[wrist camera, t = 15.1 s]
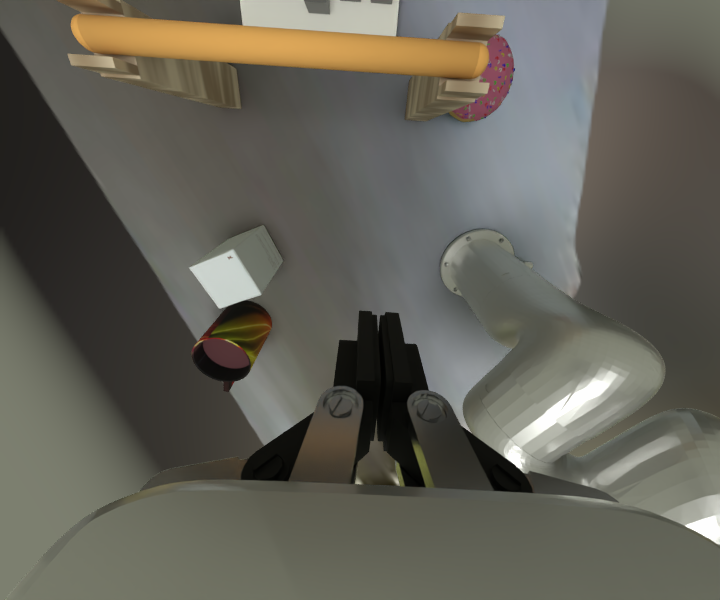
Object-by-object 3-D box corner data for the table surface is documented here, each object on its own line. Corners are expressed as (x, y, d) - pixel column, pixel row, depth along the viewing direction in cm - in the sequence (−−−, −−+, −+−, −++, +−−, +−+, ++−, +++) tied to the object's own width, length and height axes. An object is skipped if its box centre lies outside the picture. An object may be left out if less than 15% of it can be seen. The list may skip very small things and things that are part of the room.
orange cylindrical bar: (486, 48, 20) (497, 39, 18) (478, 82, 21) (489, 76, 19) (83, 19, 20) (56, 7, 18) (95, 56, 21) (70, 47, 19)
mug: (244, 357, 61) (219, 401, 51) (215, 305, 55) (180, 343, 44) (285, 350, 60) (268, 394, 50) (261, 296, 54) (236, 332, 43)
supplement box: (227, 238, 48) (186, 266, 37) (264, 223, 47) (233, 247, 36) (249, 275, 51) (218, 310, 40) (285, 262, 50) (262, 295, 39)
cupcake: (431, 127, 40) (456, 121, 29) (432, 50, 35) (460, 10, 25) (493, 119, 39) (540, 109, 28) (501, 39, 35) (559, -6, 24)
